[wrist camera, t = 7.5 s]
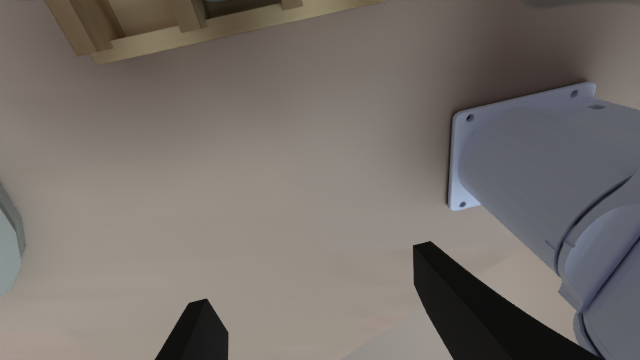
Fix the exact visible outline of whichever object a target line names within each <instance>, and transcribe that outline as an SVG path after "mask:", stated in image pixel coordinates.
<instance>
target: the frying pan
mask: <svg viewBox="0 0 640 360" xmlns="http://www.w3.org/2000/svg"><path fill="white" fill-rule="evenodd" d="M25 246H26V244H25V238H24V232H23V226H22V219H21V216H20V215H19V213H18V211H17V210H16V208H15V206H14V205H13V203H12V202H11V200H10V198H9V197H8V195H7V194H6V192H5V190H4V189H3V187H2V186H1V184H0V298H1V297H2V296H3V295H5V294H6V293H7V292H8V291H10V290H11V289H12V287H13V284H14V282H15V279H16V277H17V274H18V272H19V269H20V267H21V264H22V263H21V256H22V253H23V251H24V248H25Z"/></svg>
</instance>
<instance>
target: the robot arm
mask: <svg viewBox="0 0 640 360" xmlns="http://www.w3.org/2000/svg"><path fill="white" fill-rule="evenodd" d="M595 91H596V84H595V83H594V82H583V83H579V84H574V85H570V86H566V87H561V88H557V89H553V90H548V91H544V92H540V93H536V94H531V95H527V96H523V97H518V98H514V99H510V100H505V101H501V102H497V103H492V104H488V105H484V106H479V107H475V108H471V109H467V110H462V111H459V112H457V113H456V114H455V115H454V117H453V121H452V139H451V157H450V175H449V193H448V207H449V208H450V209H451V210H452V211H457V210H461V209H465V208H469V207H474V206H478V205H483V206H484V207H485V208H486V209H487V210H488V211H489V212H490V213H491V214H492V215H493V216H494V217H496V218H497V219H498V220H499V221H500V222H501V223H502V224H503V225H504V226H505V227H506V228H507V229H509V230H510V231H511V232H512V233H513V234H514V235H515V236H516V237H517V238H518V239H519V240H520V241H521V242H523V243H524V244H525V245H526V246H527V247H528V248H529V249H530V250H531V251H532V252H533V253H534V254H535V255H537V256H538V257H539V258H540V259H541V260H542V261H543V262H544V263H545V264H546V265H547V266H549V267H550V268H551V269H552V270H553V271H554V272H555V273H556V274H557V275H558V276H559V277H560V278H561V279H562V284H561V287H560V289H559V291H558V293H559V294H560V295H561V296H562V297H563V298H564V299H565V300H566V301H567V302H568V303H569V304H570V305H571V306H572V307H573V308H574V309H576V313H575V316H574V319H573V330H574V333H575V337H576V340H577V342H578V344H579V345H577V344H576V343H574V342H572V341H570V340H569V339H567V338H565V337H564V336H562V335H560V334H559V333H557V332H555V331H554V330H552V329H551V328H549V327H547V326H546V325H544V324H542V323H541V322H539V321H538V320H536V319H535V318H533V317H531V316H530V315H528V314H527V313H525V312H524V311H522V310H521V309H520V308H518V307H516V306H515V305H514V304H512V303H511V302H509V301H508V300H506V299H505V298H503V297H502V296H501V295H499V294H498V293H496V292H495V291H494V290H492V289H491V288H490V287H488V286H487V285H486V284H484V283H483V282H481V281H480V280H479V279H477V278H476V277H475V276H473V275H472V274H471V273H470V272H468V271H467V270H466V269H464V268H463V267H462V266H461V265H459V264H458V263H457V262H456V261H454V260H453V259H452V258H451V257H449V256H448V255H447V254H446V253H444V252H443V251H442V250H441V249H440V248H438V247H437V246H436V245H435V244H434V243H432V242H431V241H429V242H425V243H421V244H417V245H413V267H414V286H415V288H416V290H417V292H418V295H419V297H420V299H421V302H422V304H423V306H424V308H425V310H426V313H427V314H428V316H429V318H430V320H431V321H432V323H433V325H434V326H435V328H436V330H437V332H438V334H439V335H440V337H441V339H442V340H443V342H444V344H445V346H446V347H447V349H448V351H449V353H450V354H451V356H452V358H453V359H454V360H640V110H637V109H633V108H630V107H626V106H622V105H618V104H614V103H611V102H607V101H603V100H599V99H596V98H593V97H594V94H595ZM572 92H573V93H572ZM571 93H572V94H571ZM470 114H471V116H470V118H469V119H468V120H466V119H467V117H468V115H470ZM461 202H462V203H461ZM460 203H461V204H460ZM155 360H228V331H227V330H226V328H225V327H224V325H223V323H222V322H221V320H220V319H219V317H218V315H217V314H216V312H215V311H214V309H213V307H212V306H211V304H210V303H209V301H208V299H207V298H206V299H203V300H199V301H195V302H191V303H189V304H188V305H187V307H186V309H185V310H184V312H183V313H182V315H181V317H180V318H179V320H178V322H177V323H176V325H175V327H174V329H173V330H172V332H171V334H170V335H169V337H168V339H167V340H166V342H165V344H164V345H163V347H162V349H161V350H160V352H159V354H158V355H157V357H156V358H155Z"/></svg>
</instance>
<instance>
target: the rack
mask: <svg viewBox="0 0 640 360" xmlns="http://www.w3.org/2000/svg"><path fill="white" fill-rule="evenodd" d="M44 1H45V3H46V4H47V6H48V8H49V9H50V11H51V13H52V14H53V16H54V18H55V20H56V21H57V23H58V25H59V26H60V28H61V30H62V31H63V33H64V35H65V37H66V38H67V40H68V42H69V43H70V45H71V47H72V48H73V50H74V52H75V54H76V55H77V56H81V55H86V54H90V56H91V58H92V59H93V61H94V63H95V65H96V66H97V65H101V64H106V63H110V62H115V61H119V60H124V59H128V58H133V57H137V56H142V55H146V54H151V53H155V52H160V51H164V50H169V49H173V48H178V47H182V46H186V45H191V44H195V43H200V42H204V41H209V40H213V39H218V38H222V37H227V36H231V35H236V34H240V33H245V32H249V31H254V30H258V29H263V28H267V27H272V26H276V25H281V24H285V23H290V22H294V21H299V20H303V19H308V18H312V17H316V16H321V15H325V14H330V13H334V12H339V11H343V10H348V9H352V8H357V7H361V6H366V5H370V4H375V3H379V2H384V1H388V0H231V1H227V2H222V3H217V2H211V1H206V0H44Z"/></svg>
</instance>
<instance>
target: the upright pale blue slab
mask: <svg viewBox="0 0 640 360" xmlns="http://www.w3.org/2000/svg"><path fill="white" fill-rule="evenodd" d="M206 1H211V2H217V3H222V2H227V1H231V0H206Z"/></svg>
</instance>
